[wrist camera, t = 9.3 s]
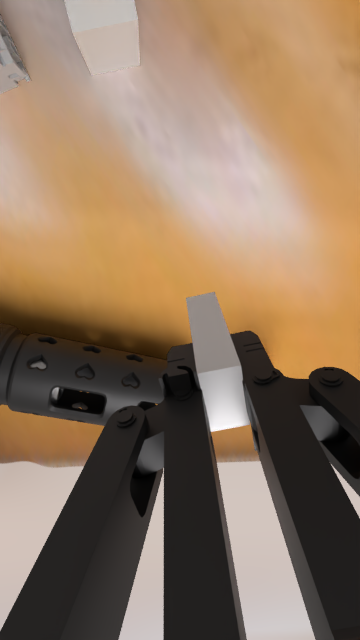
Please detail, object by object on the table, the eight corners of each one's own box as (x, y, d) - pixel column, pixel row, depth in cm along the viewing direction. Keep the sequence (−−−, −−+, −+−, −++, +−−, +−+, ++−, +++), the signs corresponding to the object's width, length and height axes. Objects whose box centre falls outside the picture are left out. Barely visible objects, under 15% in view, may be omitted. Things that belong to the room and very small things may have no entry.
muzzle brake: (175, 406, 47) (183, 459, 38) (-30, 368, 42) (-82, 419, 33) (194, 348, 44) (207, 390, 35) (-25, 301, 39) (-80, 334, 30)
